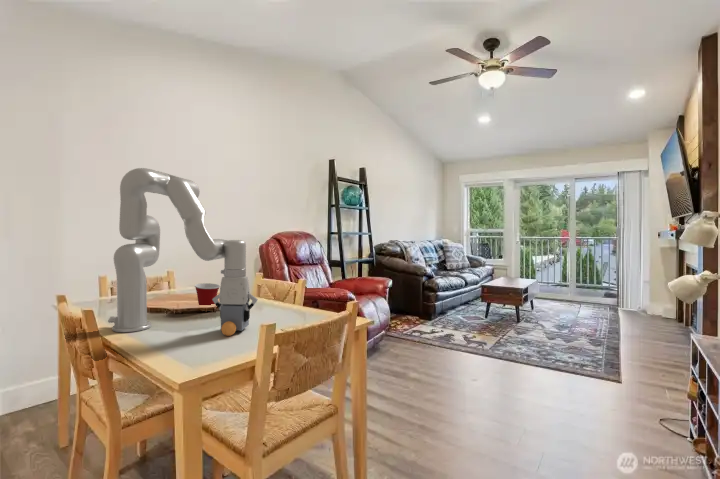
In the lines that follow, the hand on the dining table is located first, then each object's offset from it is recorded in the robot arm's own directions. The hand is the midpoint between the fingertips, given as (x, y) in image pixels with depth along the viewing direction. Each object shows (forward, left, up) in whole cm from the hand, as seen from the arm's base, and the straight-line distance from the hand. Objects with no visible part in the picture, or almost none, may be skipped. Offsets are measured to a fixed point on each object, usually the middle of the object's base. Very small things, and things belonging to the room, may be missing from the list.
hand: (235, 320), depth 141 cm
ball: (0, -6, -1) cm, 6 cm away
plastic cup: (-24, +30, -4) cm, 38 cm away
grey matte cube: (0, 0, -3) cm, 3 cm away
